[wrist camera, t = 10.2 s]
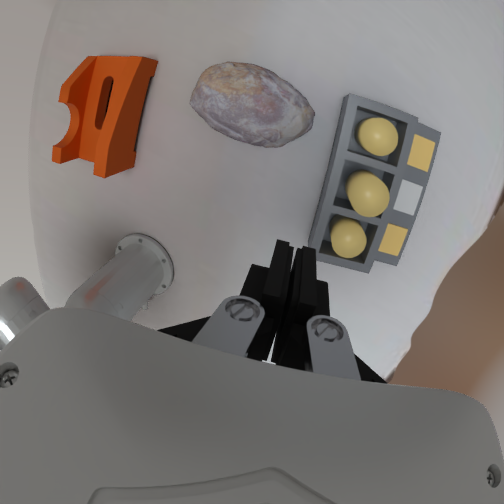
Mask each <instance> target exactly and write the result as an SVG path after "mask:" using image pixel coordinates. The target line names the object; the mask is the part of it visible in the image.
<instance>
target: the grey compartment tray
mask: <svg viewBox="0 0 504 504" xmlns="http://www.w3.org/2000/svg"><path fill="white" fill-rule="evenodd" d="M365 118H383V119H386V120H388V121H389V122H391V123H392V124H393V125H394V127H395V128H396V130H397V133H398V143H397V146H396V148H395V150H394V151H393V152H392V153H390V154H388V155H385V156H377V155H374V154H372V153H370V152H368V151H366V150H365V149H363V148H361V147H360V146H359V145H358V143H357V142H356V139H355V135H354V131H355V127H356V125H357V124H358V123H359V122H360V121H361V120H363V119H365ZM417 122H418V117H415V116H413V115H410V114H408V113H405V112H403V111H400V110H398V109H395V108H392V107H390V106H387V105H384V104H381V103H378V102H375V101H372V100H369V99H366V98H363V97H360V96H357V95H353V94H350V93H349V94H348V95H346V96H345V97H344V98H343V103H342V108H341V112H340V117H339V122H338V126H337V131H336V135H335V139H334V144H333V148H332V152H331V156H330V161H329V165H328V169H327V173H326V177H325V181H324V185H323V188H322V192H321V196H320V200H319V204H318V207H317V211H316V215H315V219H314V222H313V226H312V229H311V233H310V236H309V240H308V247H310V248H314V249H316V260H317V261H321V262H325V263H329V264H333V265H337V266H341V267H345V268H349V269H353V270H357V271H361V272H365V273H369V272H370V269H371V267H372V264H373V262H374V260H375V257H376V254H377V252H378V249H379V247H380V244H381V242H382V239H383V236H384V234H385V231H386V228H387V225H388V222H389V220H390V217H391V214H392V211H393V208H394V205H395V202H396V199H397V196H398V193H399V189H400V186H401V183H402V180H403V176H404V173H405V169H406V166H407V162H408V158H409V155H410V151H411V147H412V143H413V139H414V135H415V131H416V126H417ZM360 169H363V170H368V171H370V172H372V173H373V174H374V175H375V176H377V177H378V178H379V179H380V180H381V181H382V182H383V183H384V184H385V185H386V186H387V188H388V191H389V196H390V198H389V203H388V206H387V208H386V209H385V210H384V212H382V213H381V214H380V215H378V216H375V217H364V216H362V215H360V214H358V213H357V212H356V211H355V210H354V208H353V207H352V205H351V202H350V200H349V198H348V196H347V194H346V191H345V182H346V180H347V178H348V176H349V175H350V174H351V173H352V172H354V171H356V170H360ZM337 214H339V215H342V216H346V217H350V218H353V219H357V220H359V222H360V224H361V226H362V228H363V231H364V233H365V235H366V246H365V248H364V250H363V251H362V252H361V253H360V254H359V255H358V256H356V257H353V258H344V257H341V256H339V255H338V254H337V253H336V252H335V251H334V250H333V247H332V242H331V236H330V230H329V225H330V222H331V220H332V219H333V217H334V216H336V215H337Z"/></svg>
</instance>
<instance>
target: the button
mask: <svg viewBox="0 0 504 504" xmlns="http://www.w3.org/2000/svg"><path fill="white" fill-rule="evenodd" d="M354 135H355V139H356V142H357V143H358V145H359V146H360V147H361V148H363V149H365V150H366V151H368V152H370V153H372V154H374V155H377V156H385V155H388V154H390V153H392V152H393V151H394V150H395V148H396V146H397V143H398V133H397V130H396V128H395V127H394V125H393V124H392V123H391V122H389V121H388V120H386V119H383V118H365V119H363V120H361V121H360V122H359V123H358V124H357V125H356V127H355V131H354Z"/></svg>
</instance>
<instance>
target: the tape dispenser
mask: <svg viewBox="0 0 504 504" xmlns="http://www.w3.org/2000/svg"><path fill="white" fill-rule="evenodd" d="M157 64H158V61H156V60H153V59H149V58H145V57H138V56H130V57H121V56H88V57H87V58H86V59H85V60H84V61H83V62H82V63H81V64H80V65H79V66H78V67H77V68H76V70H75V71H74V72H73V73H72V74H71V75H70V76H69V78H68V79H67V80H66V81H65V82H64V84H63V85H62V86H61V91H60V96H59V102H62V103H65V104H66V105H67V106H68V108H69V110H70V114H71V121H70V126H69V129H68V131H67V133H66V135H65V137H64V138H63V139H62V140H61V141H60V142H59V143H58V144H56V145H54V146H53V151H52V161H53V162H56V163H59V164H61V163H64V162H67V161H70V160H73V159H77V158H81V159H84V160H87V161H91V162H94V173H93V175H96V176H99V177H103V178H106V177H109V176H111V175H114V174H117V173H119V172H122V171H124V170H127V169H130V168H132V167H134V164H135V158H136V151H134V146H135V141H136V136H137V131H138V126H139V121H140V117H141V112H142V108H143V104H144V99H145V95H146V91H147V88H148V84H149V80H150V77H151V76H153V77H154V74H155V71H156V67H157ZM112 80H114V83H113V87H112V91H111V96H110V100H109V105H108V110H107V114H106V117H105V119H104V116H105V111H106V105H107V101H108V96H109V92H110V87H111V83H112Z"/></svg>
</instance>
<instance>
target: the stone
mask: <svg viewBox="0 0 504 504" xmlns="http://www.w3.org/2000/svg"><path fill="white" fill-rule="evenodd" d="M190 105H191V106H192V108H193V109H194V110H195V111H196V112H197V113H198V114H199V115H200V116H201V117H202V118H203V119H204V120H205V121H206V122H207V123H208V124H209V125H210V127H212V128H213V129H214V130H216V131H219V132H221V133H222V134H225V135H227V136H229V137H231V138H233V139H235V140H239V141H242V142H245V143H249V144H252V145H257V146H263V147H266V148H267V147H274V148H277V147H282V146H284V145H285V144H286V143H288V142H290V141H293V140H294V139H296V138H298V137H300V136H302V135H303V134H304V133H306V132H308V130H310V129H311V128H312V125H313V118H314V116H315V112H314V110H313V109H312V107H311V106H310V105H309V103H308V101H307V99H306V98H305V97H303V96H302V94H301V93H300V92H299V91H297V90H296V89H294V88H293V86H292V85H291V84H290V83H288V82H287V81H285V80H282V79H281V78H279V77H278V76H277V75H276V74H275V73H274V72H272V71H270V70H267V69H265V68H262V67H260V66H257V65H254V64H248V63H235V62H226V63H222V64H217V65H214V66H211V67H209V68H207V69H206V70H205V71H204V72H203V73H202V74H201V76H200V78H199V80H198V82H197V84H196V87H195V89H194V90H193V93H192V95H191V100H190Z"/></svg>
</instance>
